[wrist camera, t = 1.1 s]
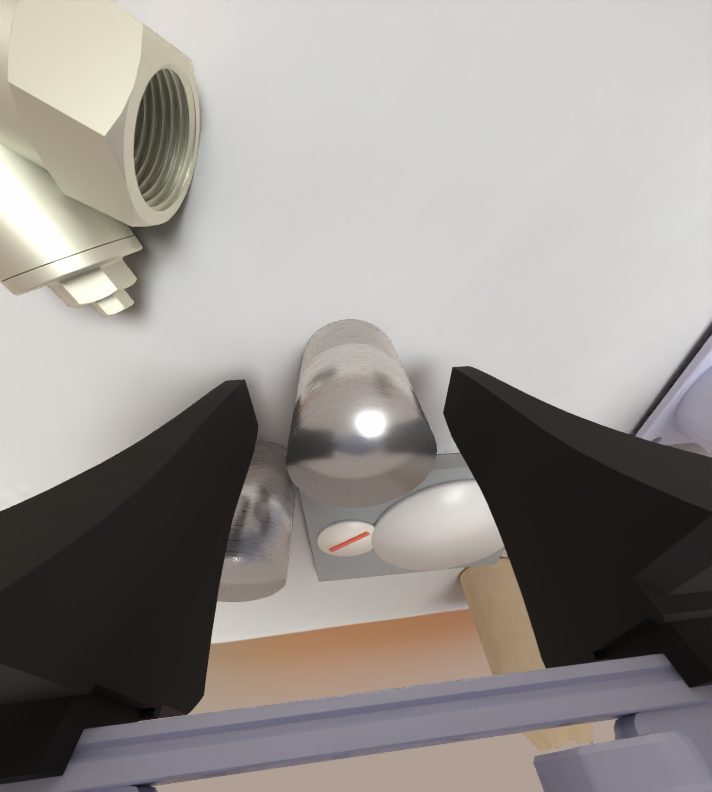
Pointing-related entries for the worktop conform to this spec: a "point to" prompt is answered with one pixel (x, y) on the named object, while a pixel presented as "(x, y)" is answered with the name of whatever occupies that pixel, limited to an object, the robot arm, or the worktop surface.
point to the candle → (511, 637)
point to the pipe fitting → (88, 145)
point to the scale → (407, 529)
